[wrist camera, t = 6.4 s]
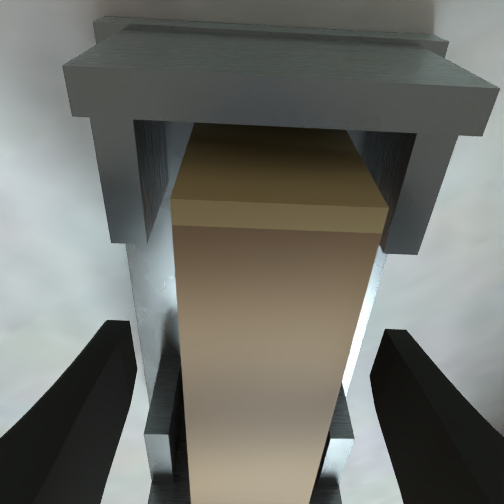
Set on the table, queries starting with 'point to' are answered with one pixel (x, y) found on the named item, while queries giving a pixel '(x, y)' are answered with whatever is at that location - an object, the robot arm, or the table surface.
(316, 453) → the brown wooden block
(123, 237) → the brackets
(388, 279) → the table surface
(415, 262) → the table surface
